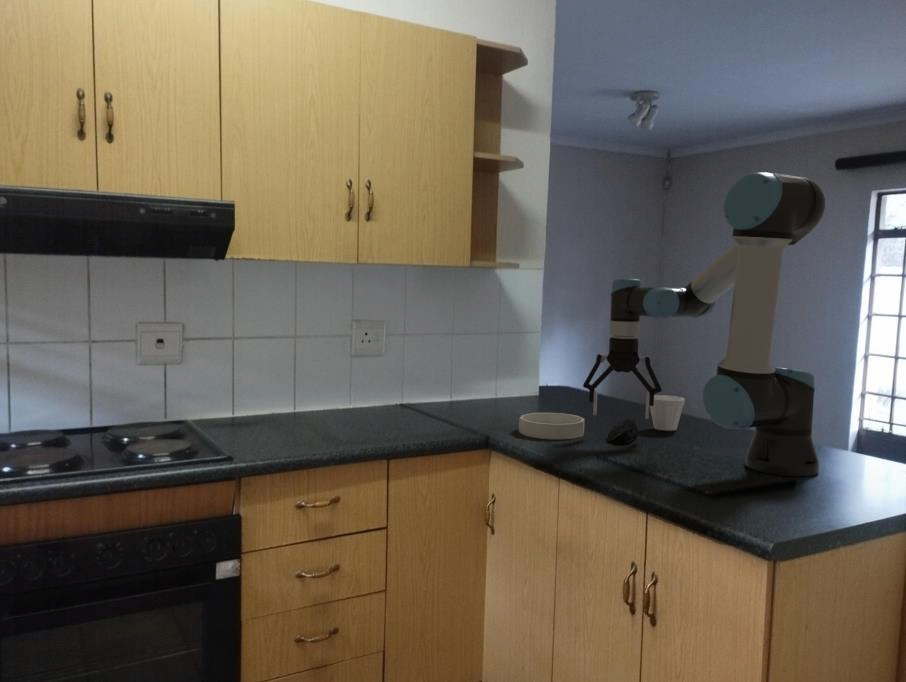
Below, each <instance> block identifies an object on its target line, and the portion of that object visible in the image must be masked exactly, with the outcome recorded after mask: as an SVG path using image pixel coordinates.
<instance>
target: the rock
mask: <svg viewBox="0 0 906 682" xmlns="http://www.w3.org/2000/svg"><path fill="white" fill-rule="evenodd" d="M638 433H639V432H638V427H637V423H636V419H635V418H633V417H632V418H627V419H625V420H624V421H622V422H620V423H618V424H616V425H614V426H613V427H612V428H611V430H610V431H609V433H607V439H606V443H607V444H616V443H617V444H620V445H629V444H630V443H632V442H634V440H637V438H638Z"/></svg>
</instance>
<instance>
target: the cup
mask: <svg viewBox="0 0 906 682" xmlns="http://www.w3.org/2000/svg"><path fill="white" fill-rule="evenodd" d="M684 404H685V398H684V397H681V396H675V395H666V394H664V395H663V394H661V395H660V394H659V395H658V394H657V395H655V394H654V405H653V406H649V411H650V415H651V420H652V424H653V428H654V430H656V431H659V432H666V433H667V432H668V433H669V432H672V433H673V432H675V431H677V429H678V425H679V422H680V419H681V414H682V411H683V407H684Z"/></svg>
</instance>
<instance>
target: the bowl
mask: <svg viewBox="0 0 906 682" xmlns="http://www.w3.org/2000/svg"><path fill="white" fill-rule="evenodd" d="M518 419H519V420H518V425H519V426H518V433H520V434H521V435H524V436H525V437H530V438H535V439H541V440H542V439H543V440H571V439H573V440H574V439H577V438H582V437H584V434H585V418H584V417H582V416H579V415H576V414H569V413H562V412H547V411H546V412H531V413H527V414H526V413H525V414H522V415H520V417H519V418H518Z"/></svg>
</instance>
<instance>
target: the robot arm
mask: <svg viewBox="0 0 906 682" xmlns="http://www.w3.org/2000/svg"><path fill="white" fill-rule="evenodd" d="M728 189H729V190H728V191H727V193H726V196H725V198H724V202H723V215H724V218H725V219H726V222H727V223H728V225H730V226H731V227H732V235H731V236H732V237H731V238H732V239H733V241H734V242H736V243H735V244H734V245H732V246H731V247H730V248H729V249H728V250H726V252H724V254H722V255H721V256H720V257H718V258H717V259H716V260H715V261H714V262H713V263H711V264H710V265H709V266H708V267H707V268H705V270H703V272H701V273H700V274H699V275H698V276H697V277H696V278H694V279H693V280H692V281H691V282H689V283H687V285H686V286H683V287H665V286H655V287H654V286H651V287H650V286H642V280H641V279H639V278H614V279H613V281H612V283H611V284H612V285H611V293H610V320H609V336H611V337H610V338H609V339H608V341H609V343H608V346H609V347H608V354H607V355H606V354H602V353H598V354H597V355H596V361H595V363H594V364H593V367H592V369H591V370H590V372H589V374H588V375H587V377H586V379H585V381H584V382H583V383H582V387H583V388H584V389H587V390H589V399H588V400H589V403H592V404H593V410H592V416H597V409H598V407H597V406H598V389H597V387H598V386H599V385H600V384H602V382H603V381H604V380H605V379H606V378H607V377H608V375H610V374H611V373H612V372H614V371H615V372H616V373H621V372H622V373H625V374H626V373H628V374H629V373H631V372H632V373H633V374H634V375H635V377H636V378H637V379H638V380H639V382H640V383H641V384H642V385H643V386H644V388H645V389H646V390H647V391H648V392H646V397H645V398H646V399H645V400H646V401H645V416H644V417H645V419H646V420H649V417H650V416H649V415H650V406H653V405H654V395H655V394H657V393H661V392H662V387H661V384H660V382H659V379H658V378H657V376H656V374H655V371H654V369H653V367H652V365H651V357H650V355H646V356H639V341H640V340H639V338H637V337H638V336H640V321H641V320H640V319H641V318H640V317H647V318H649V317H650V318H654V319H667V318H676V317H677V318H678V317H679V318H680V317H682V318H683V317H685V318H687V317H689V318H699V317H705V316H707V315H709V314H710V313H712V312H713V309H714V307H715V304H716V300H718V299H719V298H721V296H723V295H724V294H726V293H727V292H728V291H729V290H730V289H732V288H733V294H732V295H733V296H732V304H731V311H730V321H729V329H728V336H727V337H728V339H727V344H726V345H727V347H726V352H725V353H726V355H725V357H724V358H723V359H721V360H720V361H719V362H718V363H717V367H716V369H717V370H716V375H715V376H712V377H711V378H709V379H708V381H706V383H705V384H704V387H703V390H702V402H703V406H704V408H705V411H706V413H707V414H709V417H710V419H711V420H712V421H713V422H714V423H716V425H718V426H719V427H722V428H724V429H729V430H745V429H749V428H755V431H754V435H753V437H752V439H751V441H750V444H749V446H748V449H747V452H746V455H745V466H746V467H748V468H749V469H751V470H753V471H757V472H760V473H764V474H769V475H774V476H775V475H776V476H785V477H811V476H815V475H818V473H819V470H820V468H819V467H820V463H819V458H818V455H817V452H816V447H815V446H814V441H813V438H812V437H813V436H812V433H813V416H814V401H815V399H814V397H815V391H816V387H815V376H814V374H813V373H811V372H810V371H808V370H801V369H793V368H787V367H786V368H785V367H777V366H773V365H772V364H771V362H770V355H771V346H772V341H773V340H772V339H773V331H774V323H775V315H776V307H777V301H778V300H777V299H778V291H779V284H780V283H779V282H780V276H781V275H780V274H781V267H782V261H783V260H782V259H783V254H784V253H783V251H784V248H785V247H786V246H794V245H796V244H797V243H799V242H800V241H801V240H802V239H804V238H805V237H807V235H808V234H809V233H811V232H812V231H813V230H814V229H815V227H817V225H818V224H819V222H820V221H821V220H822V218H823V215H824V213H825V209H826V198H825V195H824V191H823V189H822V188H821V187H820V186H819V185H818V183H816V182H815V181H813V180H812V179H809V178H807V177H804V176H799V175H790V174H782V173H774V172H771V171H770V172H768V171H767V172H766V171H765V172H750V173H747V174H744V175H743V176H741V177H739V178H738V179H737V180H736V182H734V183H733V184H732V185H731V187H730V188H728ZM605 361H607V363H609V366H608V367H607V368H606V369H605V370H604V371H603V372H602V373H601V375H600V376H598V377H597V378H596V380H595V381H593V383H592V384H591V383H590V382H591V381H592V379H593V378H594V376H595V374H596V372H597V370H598V369H599V367H600V365H601V364H602V363H604V362H605ZM639 362H641V363H642V365H644V366H645V367H646V371H647V373H648V374H649V376H650V379H651V381H652V383H653V385H654V387H652V385H651V384H650V383H649V382H648V380H647V379H646V378H645V376H644V375H643V374H642V372H640V370H639V368H637V365H638V364H639Z"/></svg>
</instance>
